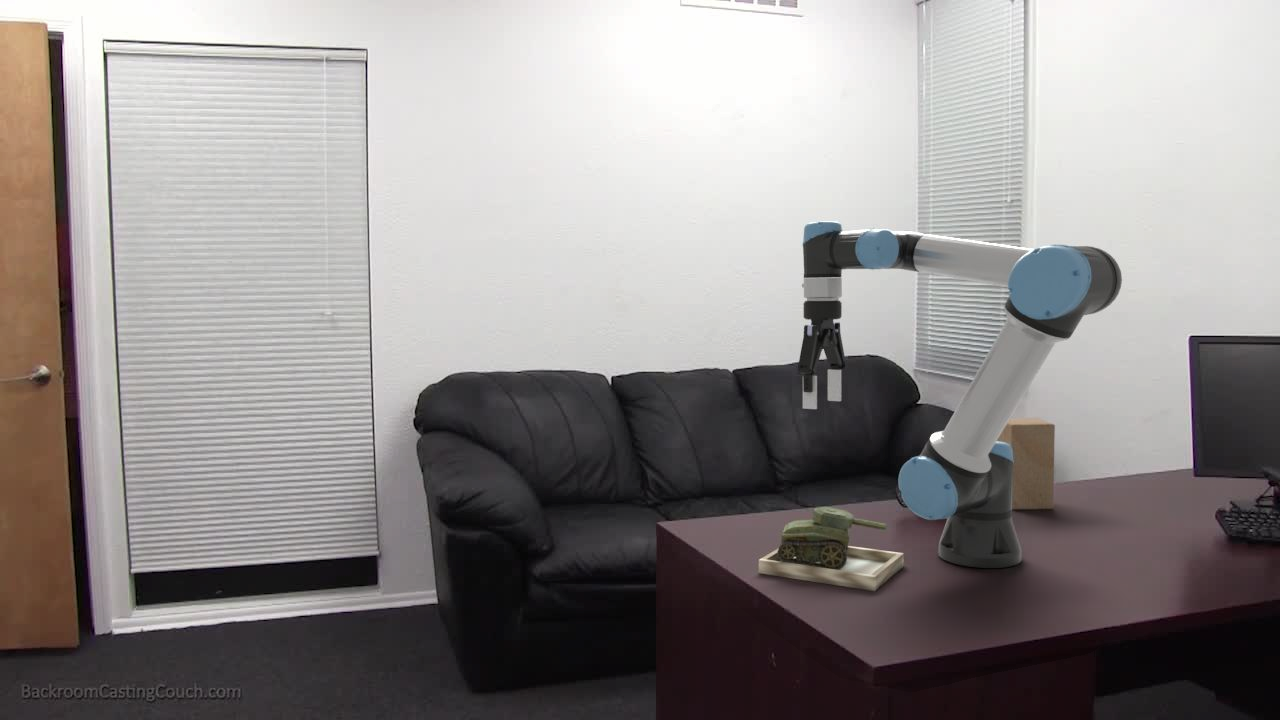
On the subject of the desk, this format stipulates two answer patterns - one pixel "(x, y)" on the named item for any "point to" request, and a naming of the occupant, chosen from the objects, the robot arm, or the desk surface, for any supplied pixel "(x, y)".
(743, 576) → the desk surface
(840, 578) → the beige tray
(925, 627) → the desk surface
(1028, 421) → the wooden block
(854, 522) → the toy
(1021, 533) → the desk surface
